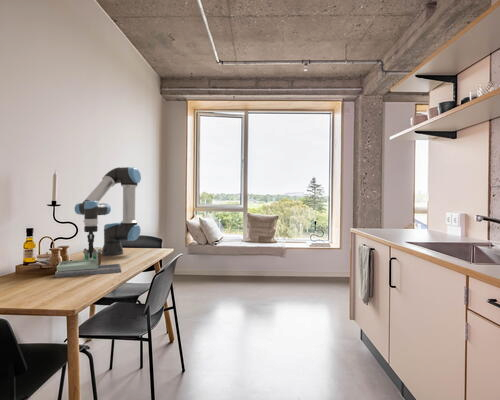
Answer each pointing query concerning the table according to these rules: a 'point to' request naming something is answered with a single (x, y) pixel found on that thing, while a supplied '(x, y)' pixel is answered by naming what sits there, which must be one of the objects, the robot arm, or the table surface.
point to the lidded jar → (43, 257)
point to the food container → (93, 255)
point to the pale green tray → (78, 264)
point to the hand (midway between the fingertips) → (90, 261)
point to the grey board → (90, 271)
